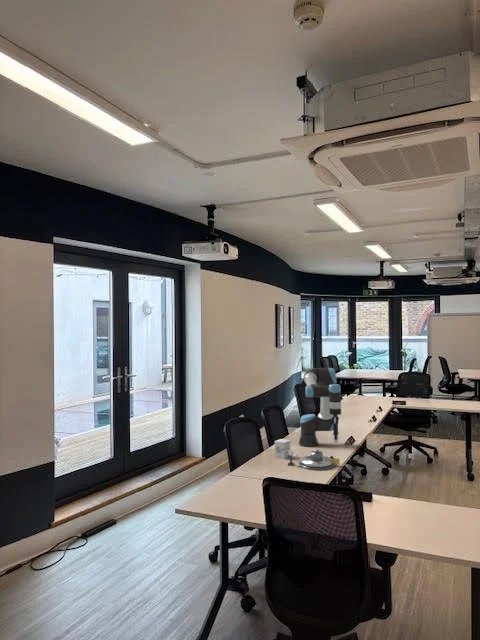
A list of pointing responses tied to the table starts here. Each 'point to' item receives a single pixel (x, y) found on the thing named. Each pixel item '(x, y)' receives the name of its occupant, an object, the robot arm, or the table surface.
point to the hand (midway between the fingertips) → (336, 444)
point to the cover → (316, 455)
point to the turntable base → (316, 468)
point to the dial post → (291, 458)
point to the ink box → (282, 448)
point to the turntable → (321, 464)
